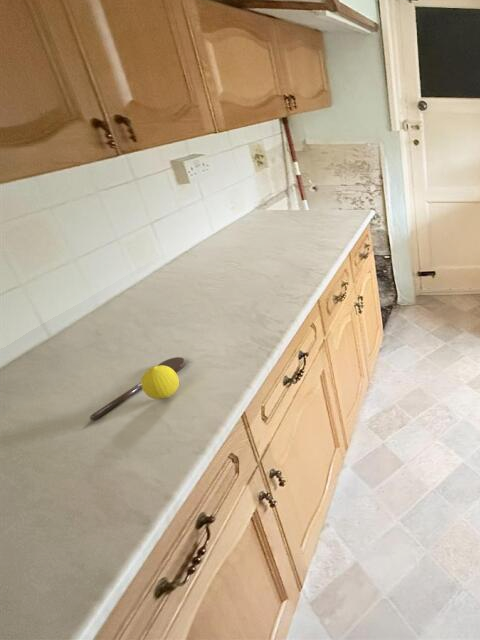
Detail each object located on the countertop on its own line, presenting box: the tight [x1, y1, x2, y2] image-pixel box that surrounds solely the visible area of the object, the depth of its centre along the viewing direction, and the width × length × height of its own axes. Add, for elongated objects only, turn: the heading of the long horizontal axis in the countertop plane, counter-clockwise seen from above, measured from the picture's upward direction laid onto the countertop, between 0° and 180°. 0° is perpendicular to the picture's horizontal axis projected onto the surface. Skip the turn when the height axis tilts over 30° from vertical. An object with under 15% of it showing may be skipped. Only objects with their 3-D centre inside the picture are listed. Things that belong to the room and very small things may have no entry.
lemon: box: [140, 365, 180, 400], centre depth 81 cm, size 6×6×8 cm
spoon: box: [89, 356, 186, 421], centre depth 84 cm, size 18×5×1 cm, turn 167°
